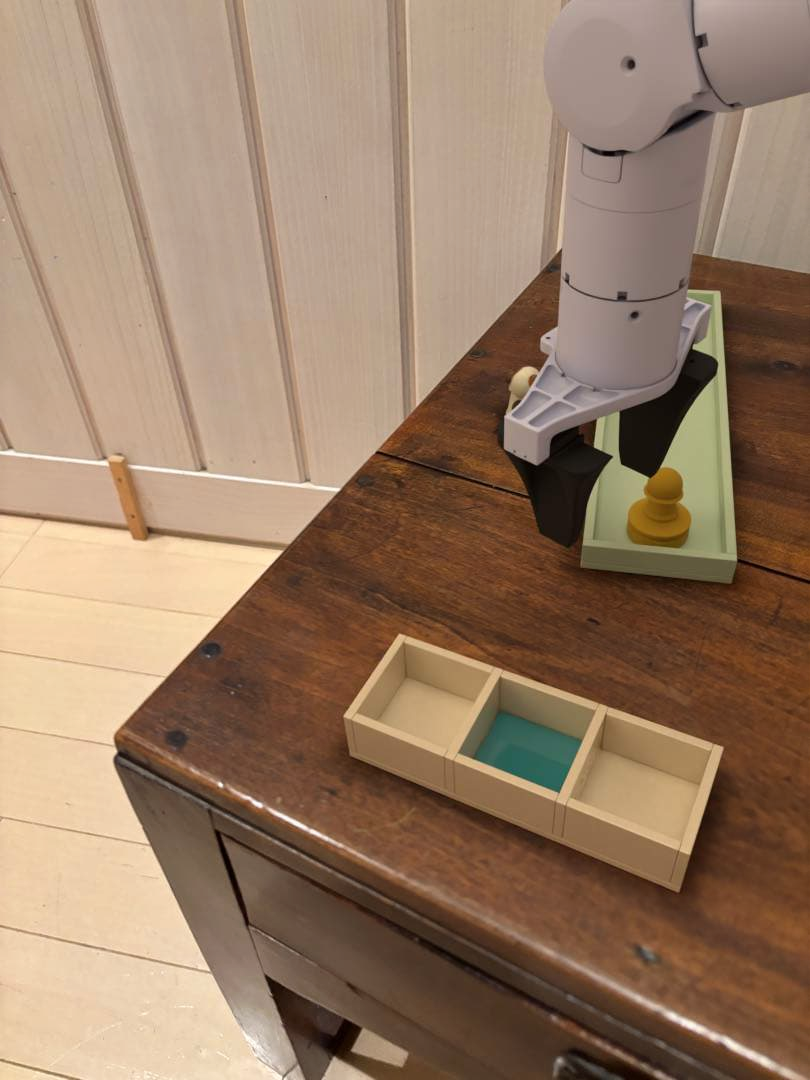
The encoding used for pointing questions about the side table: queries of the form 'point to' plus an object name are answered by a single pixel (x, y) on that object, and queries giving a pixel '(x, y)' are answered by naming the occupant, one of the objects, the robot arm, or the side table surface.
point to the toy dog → (519, 384)
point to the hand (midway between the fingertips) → (599, 501)
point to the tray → (705, 488)
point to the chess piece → (660, 512)
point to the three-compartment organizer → (537, 757)
